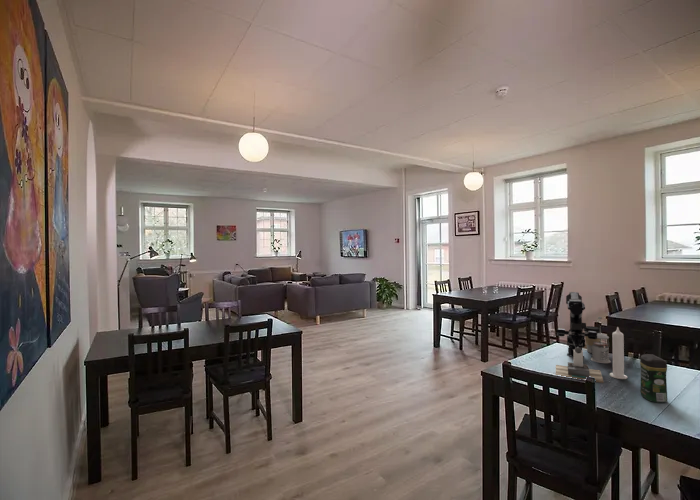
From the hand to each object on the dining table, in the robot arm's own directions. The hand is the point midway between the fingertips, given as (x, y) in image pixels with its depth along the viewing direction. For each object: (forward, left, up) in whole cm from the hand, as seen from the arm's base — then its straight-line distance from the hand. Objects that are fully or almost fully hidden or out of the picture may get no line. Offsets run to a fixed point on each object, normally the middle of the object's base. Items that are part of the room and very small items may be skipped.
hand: (576, 349), depth 195 cm
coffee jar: (-5, +40, -10) cm, 41 cm away
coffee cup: (-28, -23, -10) cm, 37 cm away
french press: (-22, -9, -10) cm, 26 cm away
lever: (+6, +9, -6) cm, 12 cm away
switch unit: (+6, +9, -10) cm, 15 cm away
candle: (-11, +15, -10) cm, 21 cm away
